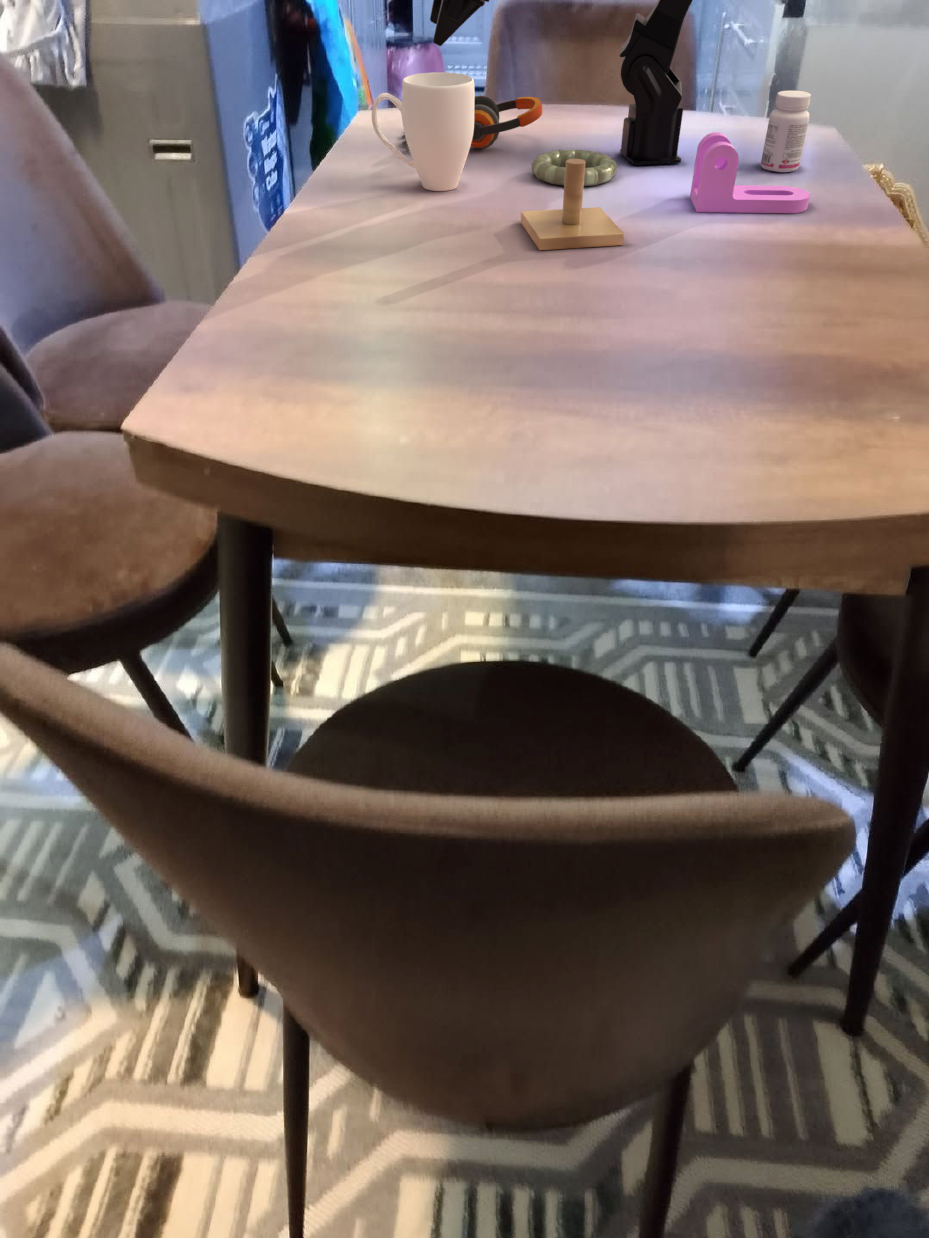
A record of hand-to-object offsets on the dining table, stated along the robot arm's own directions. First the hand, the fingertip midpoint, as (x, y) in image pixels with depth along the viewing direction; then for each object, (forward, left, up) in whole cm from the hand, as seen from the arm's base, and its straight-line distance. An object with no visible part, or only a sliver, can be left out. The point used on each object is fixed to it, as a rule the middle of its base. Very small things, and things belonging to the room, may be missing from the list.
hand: (435, 33), depth 115 cm
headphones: (-5, -2, -14) cm, 15 cm away
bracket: (-32, +31, -14) cm, 46 cm away
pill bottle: (-42, +17, -14) cm, 47 cm away
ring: (-15, +16, -13) cm, 25 cm away
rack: (-9, +37, -14) cm, 40 cm away
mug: (+4, +17, -14) cm, 22 cm away
